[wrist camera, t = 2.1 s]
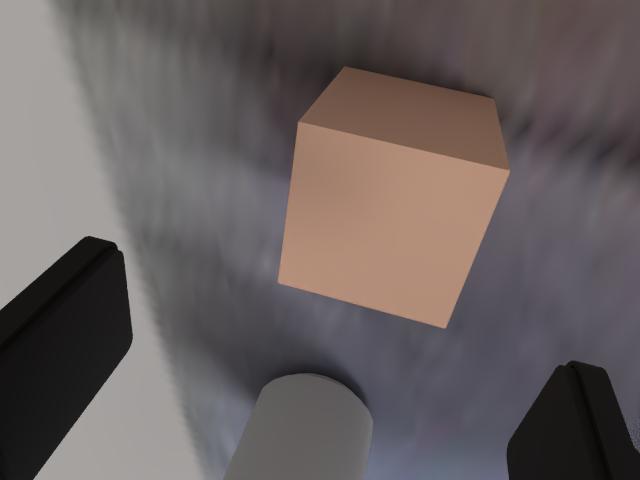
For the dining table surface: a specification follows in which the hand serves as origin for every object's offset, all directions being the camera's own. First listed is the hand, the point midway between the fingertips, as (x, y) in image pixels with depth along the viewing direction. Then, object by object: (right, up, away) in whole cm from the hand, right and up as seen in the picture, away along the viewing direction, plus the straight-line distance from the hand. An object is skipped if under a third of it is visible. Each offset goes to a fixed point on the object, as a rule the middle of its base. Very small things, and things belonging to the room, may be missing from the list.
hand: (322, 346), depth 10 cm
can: (0, -8, +21) cm, 22 cm away
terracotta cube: (+3, +6, +10) cm, 13 cm away
